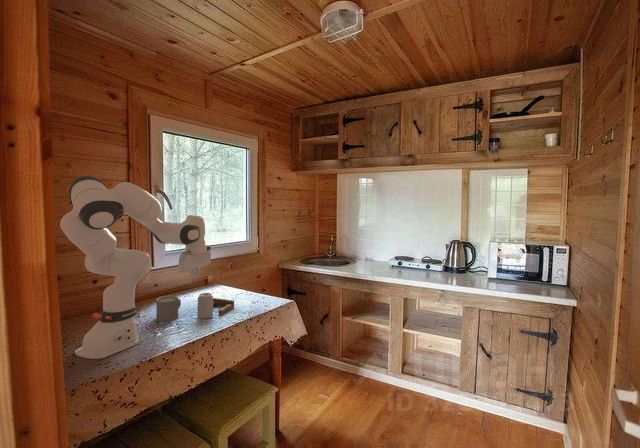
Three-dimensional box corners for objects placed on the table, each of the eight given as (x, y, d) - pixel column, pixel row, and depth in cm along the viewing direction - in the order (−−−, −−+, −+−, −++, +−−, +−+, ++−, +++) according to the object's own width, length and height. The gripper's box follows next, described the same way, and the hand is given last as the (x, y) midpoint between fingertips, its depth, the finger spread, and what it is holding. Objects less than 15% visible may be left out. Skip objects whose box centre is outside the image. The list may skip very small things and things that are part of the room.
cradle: (221, 315, 165) (221, 307, 165) (200, 312, 168) (200, 304, 168) (234, 307, 177) (234, 300, 177) (213, 304, 180) (213, 297, 180)
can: (215, 314, 165) (215, 292, 164) (208, 320, 158) (209, 296, 157) (201, 313, 166) (201, 291, 165) (194, 319, 158) (194, 295, 157)
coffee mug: (164, 323, 152) (164, 303, 151) (152, 318, 157) (152, 299, 156) (188, 315, 163) (188, 296, 163) (175, 311, 168) (176, 292, 167)
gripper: (186, 253, 140) (186, 283, 141) (213, 246, 160) (213, 272, 161) (174, 251, 141) (174, 281, 143) (202, 245, 161) (202, 271, 162)
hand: (195, 277), depth 152 cm, fingers closed
